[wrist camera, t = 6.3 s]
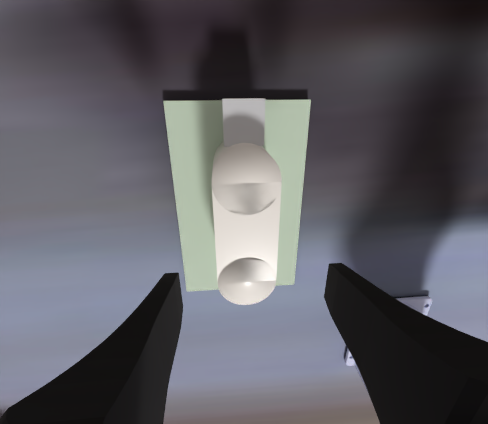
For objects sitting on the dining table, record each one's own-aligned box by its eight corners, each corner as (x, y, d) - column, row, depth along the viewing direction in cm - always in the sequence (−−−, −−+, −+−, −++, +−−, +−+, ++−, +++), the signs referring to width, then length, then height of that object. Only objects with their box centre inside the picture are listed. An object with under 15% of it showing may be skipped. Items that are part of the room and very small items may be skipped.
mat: (292, 280, 25) (294, 284, 24) (187, 287, 24) (186, 291, 24) (308, 99, 18) (310, 99, 18) (165, 100, 18) (163, 100, 17)
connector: (263, 262, 23) (275, 302, 18) (219, 264, 23) (219, 306, 18) (268, 98, 18) (286, 98, 13) (209, 98, 17) (206, 99, 13)
